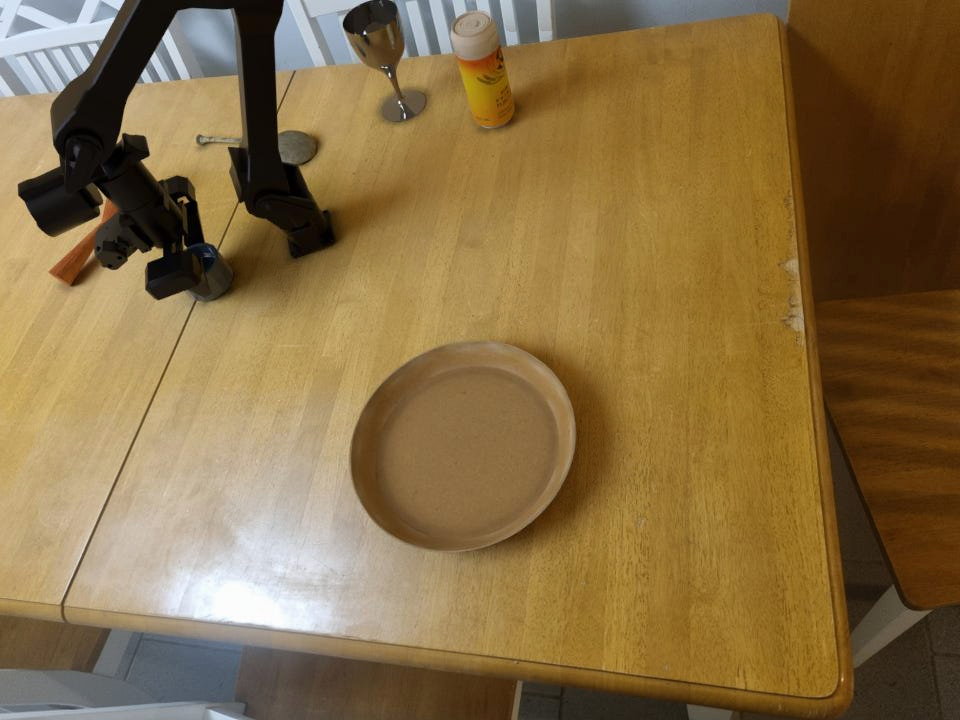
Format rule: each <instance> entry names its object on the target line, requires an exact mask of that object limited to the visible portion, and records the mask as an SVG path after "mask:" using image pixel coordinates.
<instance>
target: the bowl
mask: <svg viewBox="0 0 960 720" xmlns="http://www.w3.org/2000/svg"><path fill="white" fill-rule="evenodd" d="M184 251H188V252H192V253H193V254H194V255H195V257H196V258H199V257H201V259H202V262H203V266H204V270H205V273H206V277H207V280H208V284H209V288H210V292H211V295H210V296H207V297H201V296H199V295H197V294H195V293H193V292H191V291H188V290H186V291H183V292H184V293H185V295H187V297H189V298H190V299H191V300H193V301H196V302H210V301H214V300H215V299H217V298H219V297H221V296H222V295H224V293H226V292H227V290H228V289H230V286H231V285H232V281H233V278H234V273H233V272H234V271H233V268H232V266H231V265H230V264H229V262H228V261H227V260H226V259H225V257H224V256H223V254H221V252H220V251H219V250H218V249H217V247H216V246H215V245H214V244H211V243H209V242H205V243H197V244H194V245H192V246H189V247H186V248H184Z"/></svg>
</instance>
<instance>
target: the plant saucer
mask: <svg viewBox="0 0 960 720" xmlns="http://www.w3.org/2000/svg"><path fill="white" fill-rule="evenodd" d="M576 443H577V422H576V417H575V412H574V407H573V405H572V401H571V399H570V397H569V395H568V392H567V390H566V388H565V387H564V385H563V383H562V381H561V380H560V379H559V377H558V376H557V375H556V373H554V371H553V370H552V369H551V368H549V366H548V365H547V364H545V363H544V362H543V361H542V360H541V359H539V358H538V357H537V356H535V355H533V354H532V353H529V352H528V351H526V350H524V349H522V348H520V347H517V346H514V345H511V344H507V343H504V342H500V341H495V340H485V339H483V340H482V339H481V340H480V339H470V340H461V341H459V340H458V341H454V342H448V343H445V344H442V345H441V344H440V345H439V346H435V347H433V348H430V349H427V350H425V351H423V352H421V353H418V354H417V355H415V356H413V357H411V358H410V359H408V360H407V361H405V362H404V363H401V364H400V365H399V366H398V367H397V368H395V369H394V370H393V371H391V372H390V373H389V374H388V375H387V376H386V377H385V378H384V379H383V380H382V381H381V382H380V383H379V384H378V386H377V387H376V388H375V389H374V390H373V391H372V393H371V394H370V396H369V397H368V399H367V400H366V401H365V403H364V405H363V407H362V408H361V410H360V412H359V415H358V417H357V419H356V422H355V425H354V427H353V430H352V434H351V438H350V444H349V452H348V469H349V475H350V476H349V477H350V481H351V485H352V489H353V491H354V494H355V496H356V499H357V501H358V503H359V505H360V507H361V508H362V510H363V511H364V513H365V515H367V517H368V518H369V520H370V521H371V522H372V523H373V524H374V525H375V526H376V527H377V528H378V529H379V530H381V531H382V532H383V533H384V534H385V535H387V536H389V537H391V538H392V539H393V540H395V541H397V542H398V543H401V544H403V545H405V546H408V547H411V548H413V549H417V550H420V551H426V552H432V553H440V554H441V553H442V554H454V553H455V554H456V553H465V552H466V553H467V552H470V551H471V552H472V551H477V550H480V549H484V548H487V547H490V546H493V545H496V544H498V543H500V542H503V541H504V540H507V539H509V538H510V537H512V536H514V535H516V534H518V533H519V532H520V531H522V530H523V529H524V528H526V527H527V526H528V525H530V524H531V523H533V522H534V521H535V520H537V518H538V517H539V516H540V515H541V514H542V513H543V512H544V511H545V510H546V509H547V507H548V506H550V504H551V503H552V502H553V500H554V499H555V498H556V496H557V494H558V493H559V491H560V490H561V488H562V487H563V485H564V484H565V481H566V479H567V477H568V474H569V472H570V469H571V466H572V463H573V460H574V455H575V450H576Z"/></svg>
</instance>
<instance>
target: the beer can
mask: <svg viewBox="0 0 960 720" xmlns="http://www.w3.org/2000/svg"><path fill="white" fill-rule="evenodd" d="M450 27H451V30H450V41H451V44H452V47H453V50H454V55H455V58H456V61H457V65H458V68H459V71H460V75H461V79H462V82H463V86H464V90H465V93H466V96H467V100H468V103H469V104H468V105H469V107H470V111H471V114H472V118H473V121H474V122H475V123H476V124H478V125H479V126H481V127H483V128H485V129H497V128H501V127H503V126H505V125H506V124H507V123H508V122H509V121H510V120H511V119H512V116H513V115H514V114H515V109H516V108H515V102H514V98H513V94H512V90H511V84H510V80H509V76H508V71H507V68H506V64H505V62H506V61H505V59H504V53H503V50H502V45H501V40H500V37H499V32H498V26H497V23H496V21H495V20H494V19H493V18H492V15H491V14H490V13H489V12H488V11H485V10H479V9H475V10H469V11H467V12H464V13H462V14H460V15H458V16H457V17H456V18H455V19H454V20H453V22H452V23H451V26H450Z"/></svg>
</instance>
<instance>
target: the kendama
mask: <svg viewBox="0 0 960 720" xmlns="http://www.w3.org/2000/svg"><path fill="white" fill-rule="evenodd" d="M105 199H106V200H105V204H104V209H103V212H102V217H101V222H100V223H99V224H97V226H96V227H94V228H93V229H92V230H91V231H90V232H89V233H88V234H87V235H85V237H84V238H82V239H81V240H80V242H78V243H77V244H76V245H75V246H74V247H73V248H72V249H71V250H70V251H68V253H67V254H66V255H65V256H63V257H62V258H61V259H60V260H59V261H58V262H57V263H56V264H54V266H52V268H50V269H49V270H48V271H47V273H48V274H50V275H51V276H52V277H54V278H55V279H56V280H58V281H59V282H61V283H63V284H64V285H67V286H68V287H71V285H72V284H73V282H74V280H75V279H76V278H77V276H78V274H79V273H80V272H81V270H82V268H83V267H84V265H85V264H86V262H87V261H88V259H89V257H90V256H91V254H93V252H94V245H95V234H96V231H97V230H98V228H99V227H100V226H101V225H103V224H104V223H105V222H106V221H107V220H108V219H110V218H111V217H112V216H113V215H114V214H115V213H117V212H119V211H118V210H117V209H116V208H115V207H114V206H113V204H112V203H111V202H110V201H109V200H108V199H107V198H105Z"/></svg>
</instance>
